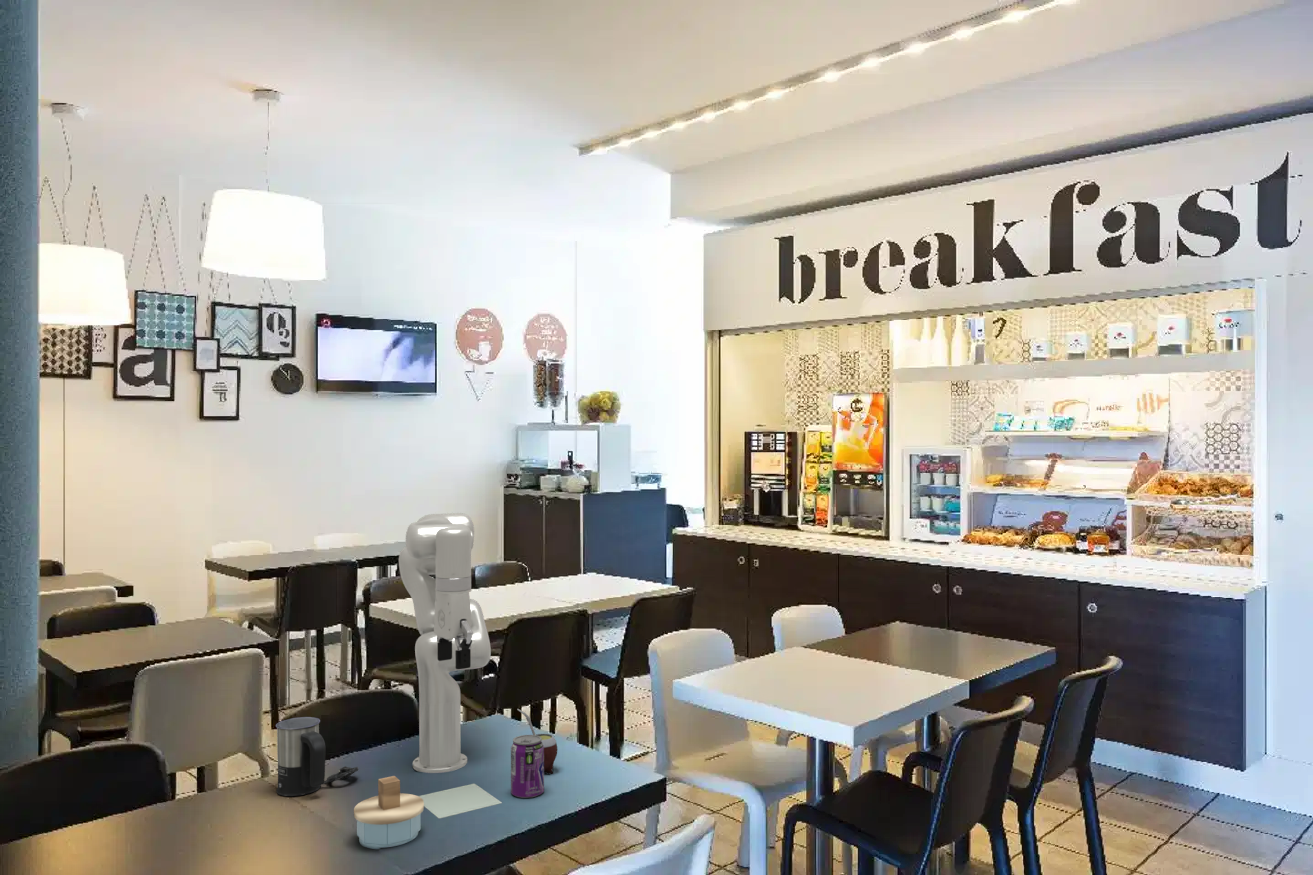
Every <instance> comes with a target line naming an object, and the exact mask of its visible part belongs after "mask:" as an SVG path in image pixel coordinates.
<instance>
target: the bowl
mask: <svg viewBox="0 0 1313 875" xmlns="http://www.w3.org/2000/svg"><path fill="white" fill-rule="evenodd" d="M421 814H422V812H421V813H420V814H419V815H418V816H416V817H414V818H412V819H409V820H406V821H403V822H398V823H393V824H382V825H376V824H367V823H362V822H360V821H358V820H356V836H357V837H358V838H359V839H358V840H359V841H358V843H359V844H360V845H361V846H362V847H364V848H367V849H372V850H381V848H390V847H391V848H393V847H396V846H401V845H404V844H407V843H409V842H411V841H413V840H414V839H415V838H417V837H418V835H419V831H420V830H421V829H422V827H421V826H422V825H421Z"/></svg>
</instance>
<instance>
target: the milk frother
mask: <svg viewBox="0 0 1313 875" xmlns="http://www.w3.org/2000/svg"><path fill="white" fill-rule="evenodd" d="M320 723H321V719H320V718H318V717H313V716H312V717H311V716H302V717H292V718H288V719H284V720H281V721H279V722H277V723H276V724H275V727H276V736H277V738H276V742H277V743H276V744H277V745H276V746H277V747H276V748H277V749H276V750H277V753H276V754H277V788H276V793H277V794H278V795H279V796H281V797H282V796H283V797H298V796H304V795H307V794H312V793H314V792H317V791H318V790H319V789H321V786H322V785H326V784H328V783H331V782H333V781H334V782H335V781H336V780H339V779H342V780H346V779H348V778H349V777H351V776H352V775H353V774H355V773H356V772H359V767H358V766H356V767H350V766H346V765H345V766H343V767H341V768H339V770H338V772H336V773H334V774H331V775H329V776H328V777H327V778H326V779H325V776H326V774H325V773H326V753H327V751H326V742H325V740H324V737H323V735H322V734H320V730H319V729H320V727H319V726H320V725H319V724H320Z"/></svg>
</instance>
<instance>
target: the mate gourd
mask: <svg viewBox="0 0 1313 875" xmlns="http://www.w3.org/2000/svg"><path fill="white" fill-rule="evenodd" d="M516 710H517V711H518V712H520V713H521V714H522V715H523V716H524V717H525V719H526V721H527V722H528V725H529V728H530V730H531V733H532V735H537V736H540V737H541V738H542V741H541V742H542V744H543V746H544V774H547V773H548V775H554V770H553V768H554V763H555V760H556V758H557V754H558V744H557V740H556V738H555V737H554V735H552V734H549V733H538V734H536V732H535V729H534V727H533V724H532V721H531V717H530V716H529V715H528V714H527V713H526V711H525V712H524V711H523V710H521V709H519V708H517V709H516Z"/></svg>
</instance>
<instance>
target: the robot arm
mask: <svg viewBox="0 0 1313 875" xmlns="http://www.w3.org/2000/svg"><path fill="white" fill-rule="evenodd" d="M474 539H475V527H474V522H473V520H472V518H471V517H470V516H469V515H468V514H466V513H462V512H455V513H453V512H452V513H430V514H425V515H424V516H422V517H420V518H419V519H418V520H417V521H415V522H412V523H410V524H409V525H408V527H407V528H406V534H405V546H404V547H403V548H402V549H401V551H400V552H399V556H398V568H399V574H400V577H401V581H402V583H403V586H404V587H405V589H406V591H407V593H408V594H409V596H410V598H411V600H412V604H413V608H414V609H413V610H414V616H415V621H416V626H417V630H418V632H419V634H420V636H419V637H418V638H417V639H416V641H415V646H414V651H415V652H414V653H415V660H416V668H417V674H418V676H417V677H418V694H419V695H418V696H419V697H418V699H419V700H418V701H419V704H418V705H419V706H418V707H419V710H418V711H419V713H418V715H419V717H418V719H419V720H418V722H419V723H418V725H419V726H418V727H419V728H418V729H419V730H418V731H419V737H418V739H419V740H418V741H419V742H418V743H419V745H418V746H419V748H418V749H419V753H418V754H419V755H418V756H417V757H416V758H415V759H414V760H413V761H412V769H414V770H415V771H417V772H420V773H426V774H441V773H449V772H453V771H454V772H455V771H456V770H459V769H461V768H464V767H465V766H466V765H467V764H468V757H467V755H465V754H464V753H461V752H462V751H461V744H462V743H461V742H462V741H461V689H460V685H459V684H458V682H457V681H456V680H455V679H454V678H453V677H452V676H451V675H450V674H449V673H451V672H455V671H465V670H474V669H479V668H480V669H481V668H483V667H485V666H487V665H488V664H489V662H490V659H491V654H492V653H491V652H492V650H491V649H492V648H491V643H490V642H491V641H490V637H489V633H488V629H487V624H486V620H485V616H484V613H483V610H482V606H481V605H480V603H479V602H478V601H477V600H475V599H473V598H470V592H472V550H473V548H474V541H475V540H474ZM430 575H435V578H434V577H432V576H430Z"/></svg>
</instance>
